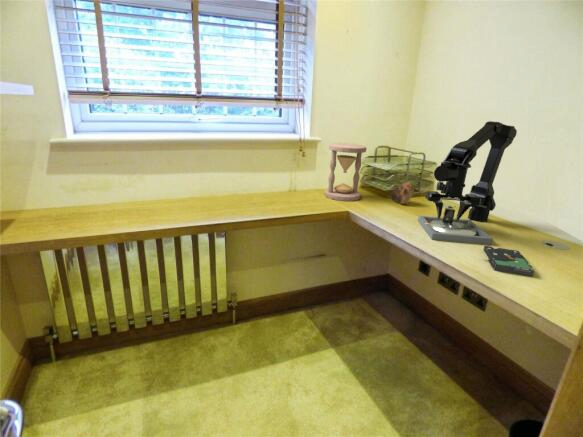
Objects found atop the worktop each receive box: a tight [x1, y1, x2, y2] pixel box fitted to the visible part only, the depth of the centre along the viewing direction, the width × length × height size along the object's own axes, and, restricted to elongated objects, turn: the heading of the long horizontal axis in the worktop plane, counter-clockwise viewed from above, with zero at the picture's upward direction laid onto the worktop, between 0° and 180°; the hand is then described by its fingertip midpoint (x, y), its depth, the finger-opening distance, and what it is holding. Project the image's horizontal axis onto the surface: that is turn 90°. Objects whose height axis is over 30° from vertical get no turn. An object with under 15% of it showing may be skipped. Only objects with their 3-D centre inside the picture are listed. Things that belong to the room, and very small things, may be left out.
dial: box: [429, 207, 477, 236], centre depth 128 cm, size 16×16×7 cm
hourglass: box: [324, 142, 367, 202], centre depth 168 cm, size 18×18×25 cm
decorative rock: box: [391, 180, 415, 205], centre depth 165 cm, size 12×6×11 cm, turn 15°
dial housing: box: [417, 215, 493, 246], centre depth 129 cm, size 20×20×3 cm
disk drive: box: [483, 245, 535, 278], centre depth 107 cm, size 10×3×15 cm
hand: (448, 219), depth 134 cm, fingers open, 7 cm apart
